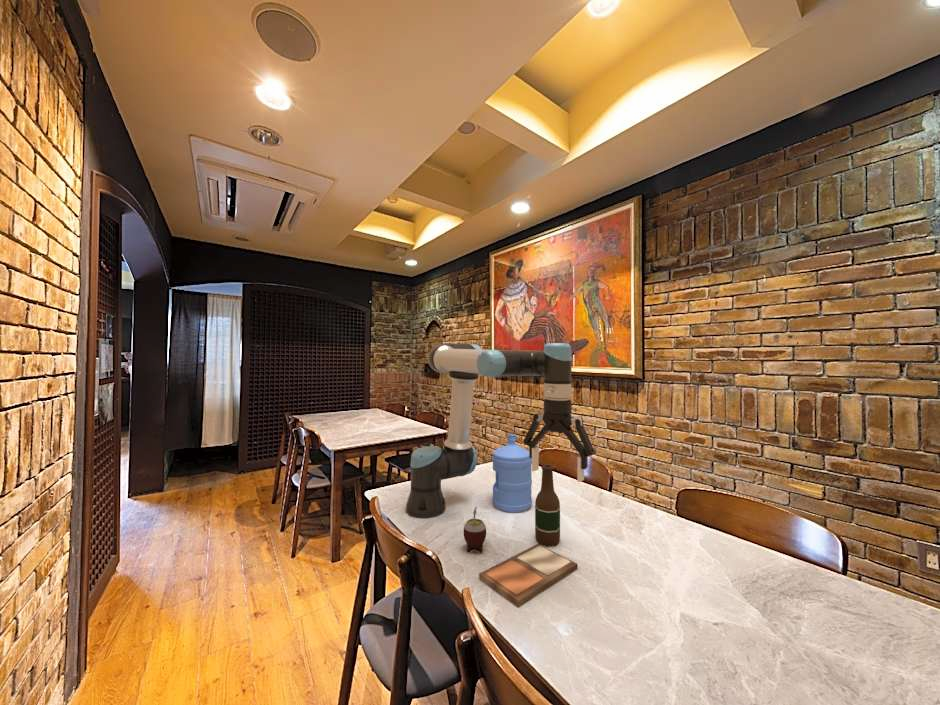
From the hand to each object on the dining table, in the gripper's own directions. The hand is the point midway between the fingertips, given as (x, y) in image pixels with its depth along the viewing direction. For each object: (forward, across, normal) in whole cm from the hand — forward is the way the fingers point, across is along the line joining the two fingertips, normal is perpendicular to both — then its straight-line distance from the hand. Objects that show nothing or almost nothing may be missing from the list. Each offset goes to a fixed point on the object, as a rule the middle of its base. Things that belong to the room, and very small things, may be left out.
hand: (557, 475), depth 100 cm
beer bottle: (+26, -9, +12) cm, 30 cm away
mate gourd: (+26, -24, -6) cm, 36 cm away
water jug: (+27, -33, +30) cm, 52 cm away
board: (+26, -5, -7) cm, 27 cm away
